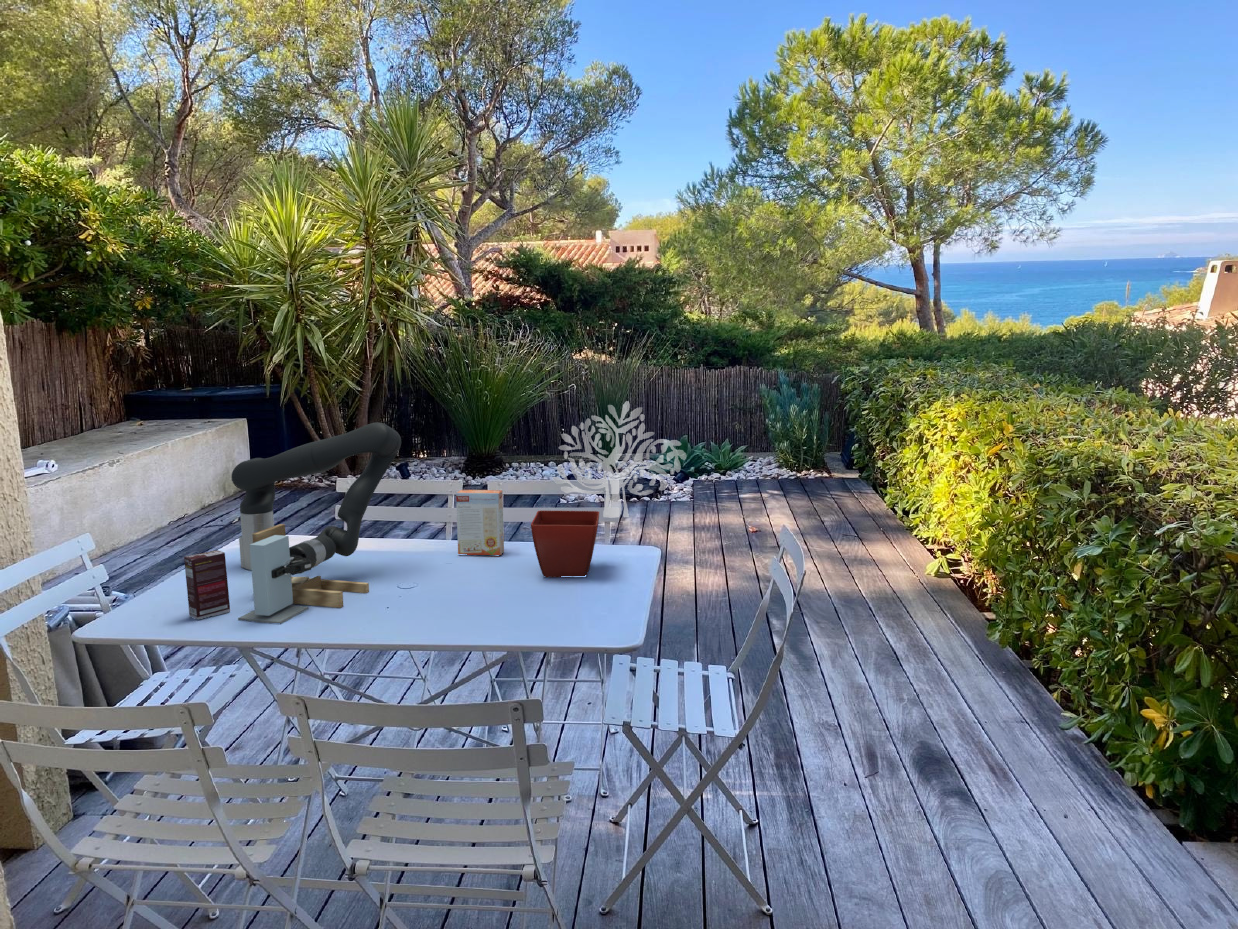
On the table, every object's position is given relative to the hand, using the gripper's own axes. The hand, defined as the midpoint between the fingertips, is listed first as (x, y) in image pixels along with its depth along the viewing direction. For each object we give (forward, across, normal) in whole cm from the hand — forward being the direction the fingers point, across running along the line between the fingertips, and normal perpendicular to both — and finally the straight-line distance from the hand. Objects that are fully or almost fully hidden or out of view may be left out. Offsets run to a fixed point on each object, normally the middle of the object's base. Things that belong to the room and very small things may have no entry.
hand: (264, 574), depth 214 cm
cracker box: (-71, +28, +12) cm, 77 cm away
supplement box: (+1, -16, +12) cm, 20 cm away
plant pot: (-58, +61, +12) cm, 85 cm away
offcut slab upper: (-19, -4, +10) cm, 22 cm away
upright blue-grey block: (-3, 0, +10) cm, 10 cm away
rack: (-19, +1, +12) cm, 22 cm away
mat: (-3, 0, +12) cm, 12 cm away
